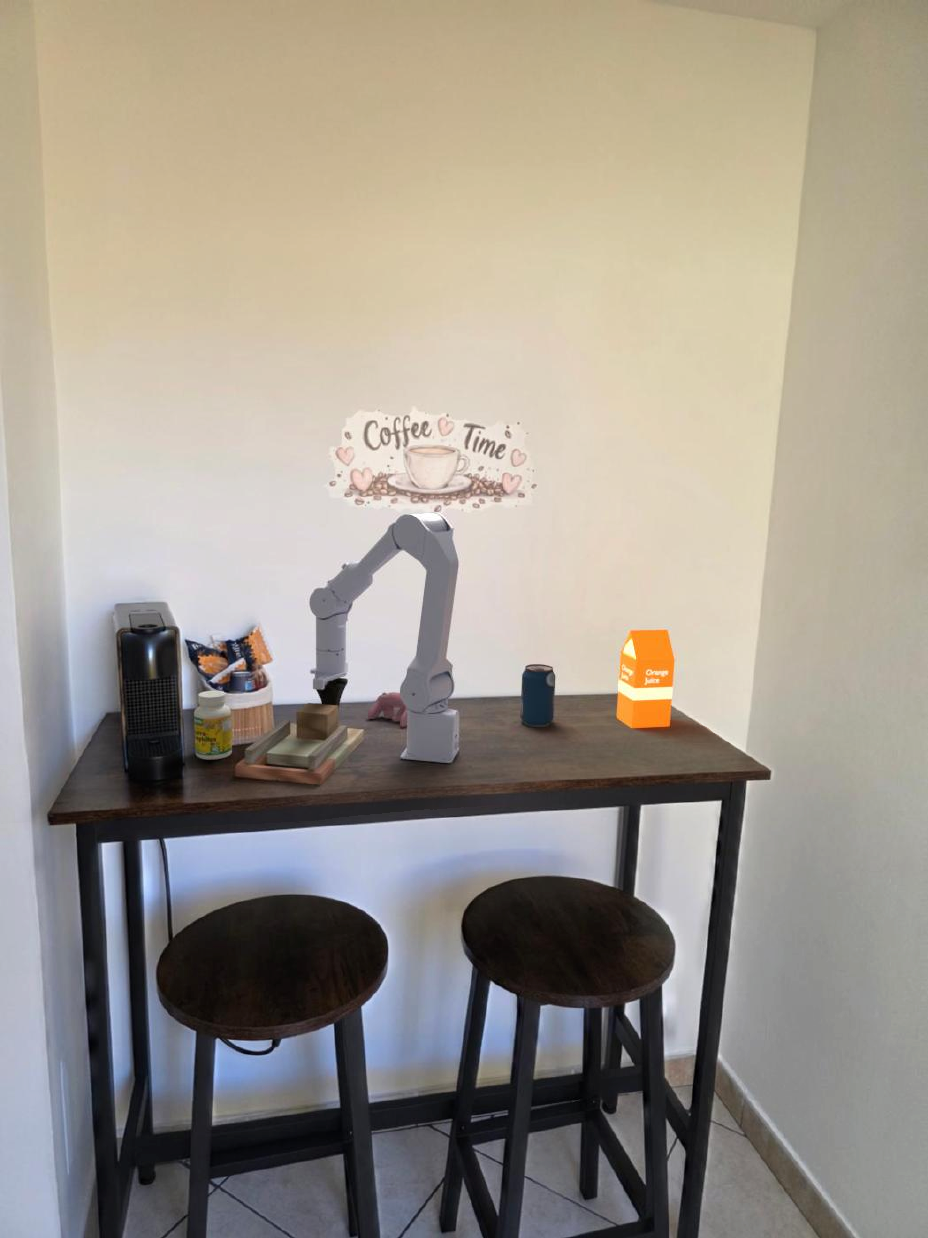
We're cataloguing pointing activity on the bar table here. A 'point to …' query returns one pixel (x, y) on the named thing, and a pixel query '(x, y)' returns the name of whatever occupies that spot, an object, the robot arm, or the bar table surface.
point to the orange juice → (646, 679)
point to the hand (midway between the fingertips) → (330, 716)
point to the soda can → (537, 695)
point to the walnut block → (316, 721)
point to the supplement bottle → (212, 726)
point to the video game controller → (389, 708)
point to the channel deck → (297, 754)
